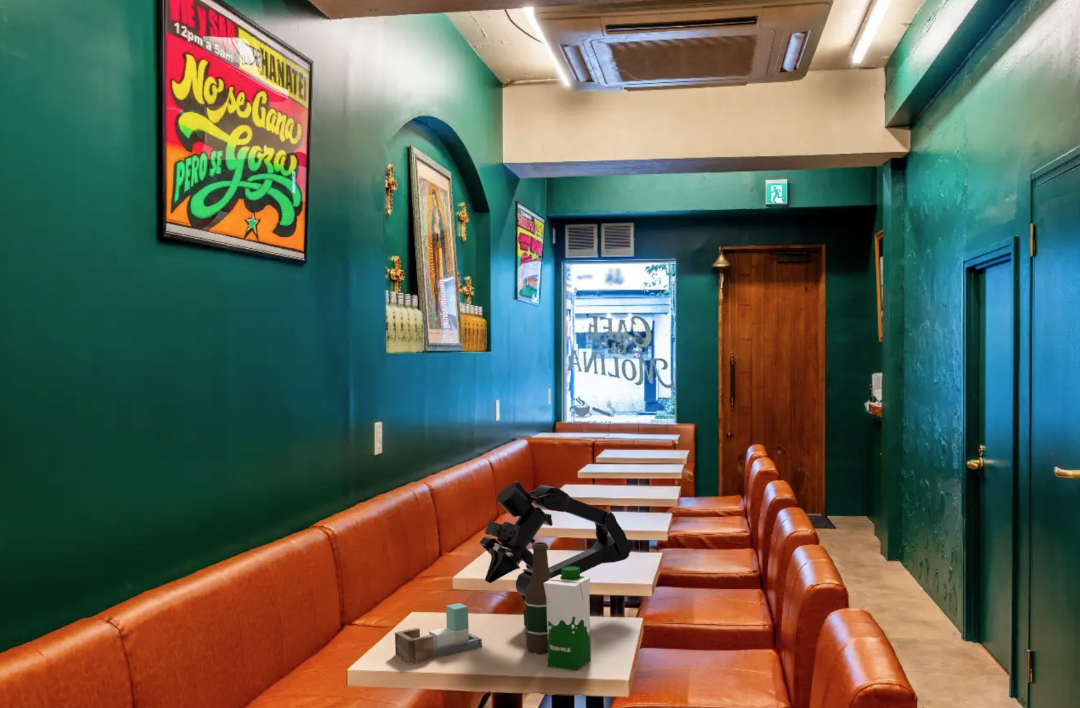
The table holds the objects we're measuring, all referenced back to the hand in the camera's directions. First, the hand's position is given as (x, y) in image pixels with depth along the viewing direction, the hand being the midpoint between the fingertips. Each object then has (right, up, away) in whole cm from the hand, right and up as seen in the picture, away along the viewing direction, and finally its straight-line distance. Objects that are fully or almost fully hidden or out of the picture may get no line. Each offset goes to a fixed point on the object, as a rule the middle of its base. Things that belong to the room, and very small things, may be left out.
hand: (487, 581), depth 207 cm
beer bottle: (+13, -13, -9) cm, 20 cm away
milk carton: (+19, -13, -18) cm, 29 cm away
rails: (-7, -14, -6) cm, 17 cm away
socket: (-16, -14, -11) cm, 24 cm away
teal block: (-8, -13, -6) cm, 17 cm away
